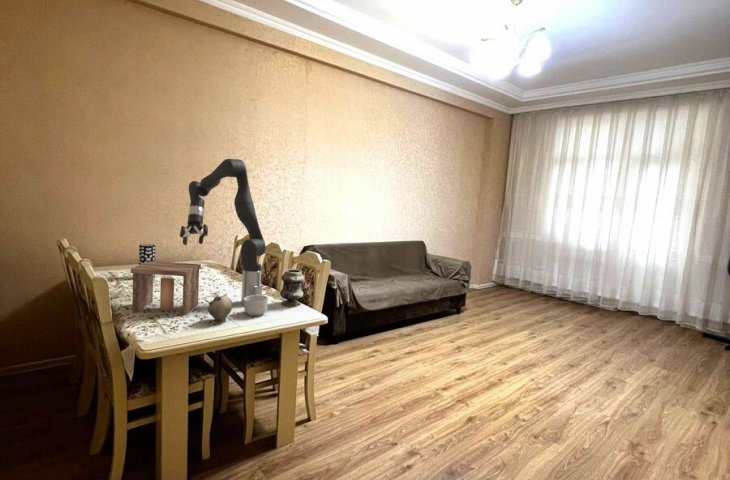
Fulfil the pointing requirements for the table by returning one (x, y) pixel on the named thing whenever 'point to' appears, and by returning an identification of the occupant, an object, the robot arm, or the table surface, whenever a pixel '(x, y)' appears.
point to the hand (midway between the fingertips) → (192, 244)
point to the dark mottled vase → (292, 287)
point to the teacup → (255, 304)
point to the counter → (146, 271)
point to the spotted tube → (146, 254)
